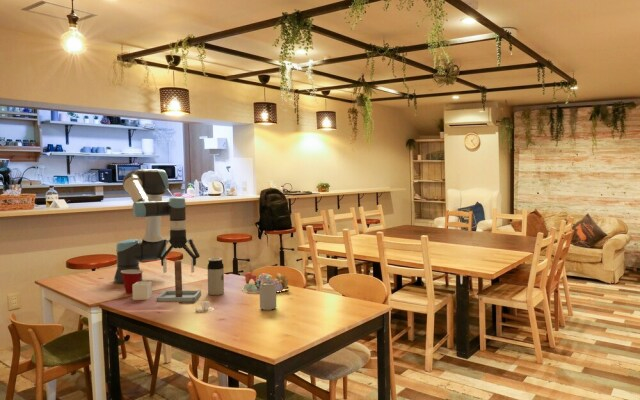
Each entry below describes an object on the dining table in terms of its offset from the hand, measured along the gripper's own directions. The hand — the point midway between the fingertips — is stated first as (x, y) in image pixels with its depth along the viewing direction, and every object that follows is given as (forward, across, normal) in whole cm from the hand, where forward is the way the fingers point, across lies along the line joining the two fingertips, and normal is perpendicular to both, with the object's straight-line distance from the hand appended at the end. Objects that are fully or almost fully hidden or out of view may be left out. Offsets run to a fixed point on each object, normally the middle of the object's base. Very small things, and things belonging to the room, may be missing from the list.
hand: (178, 272), depth 243 cm
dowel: (+12, 0, 0) cm, 12 cm away
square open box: (+13, -18, 0) cm, 22 cm away
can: (+13, +45, -19) cm, 51 cm away
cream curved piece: (+14, +14, -19) cm, 27 cm away
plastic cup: (+13, -27, +12) cm, 32 cm away
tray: (+13, 0, 0) cm, 13 cm away
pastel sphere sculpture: (+14, +41, +18) cm, 47 cm away
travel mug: (+13, +16, +10) cm, 23 cm away
